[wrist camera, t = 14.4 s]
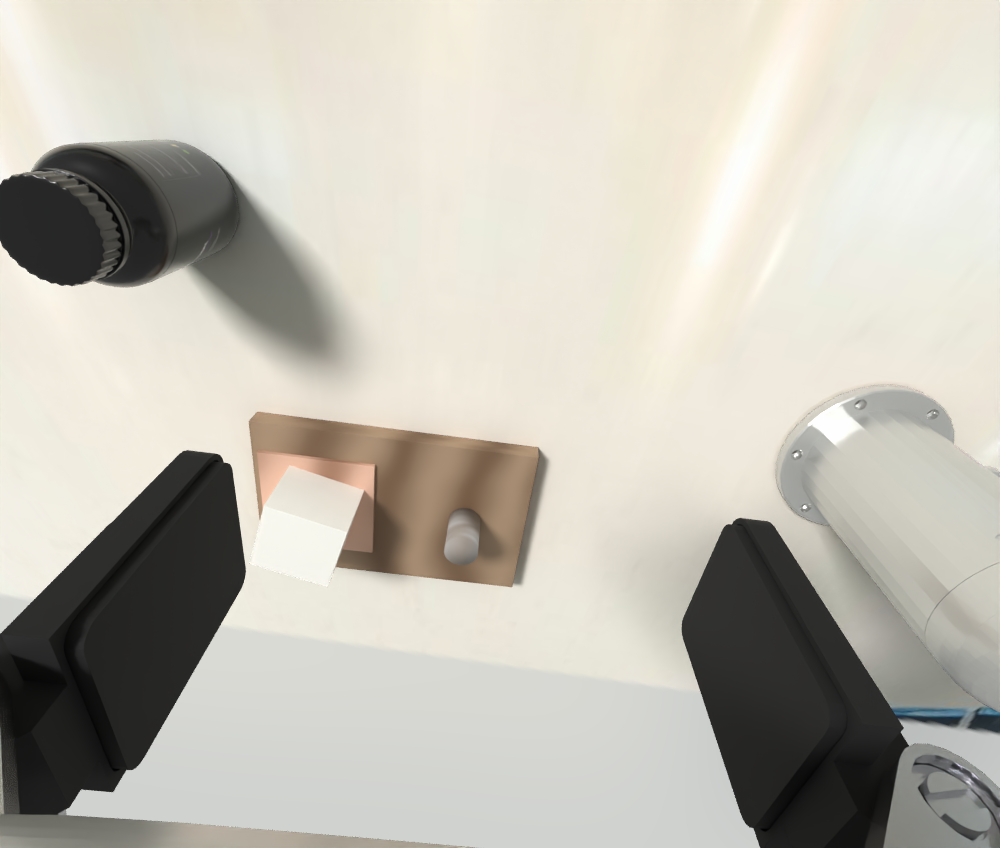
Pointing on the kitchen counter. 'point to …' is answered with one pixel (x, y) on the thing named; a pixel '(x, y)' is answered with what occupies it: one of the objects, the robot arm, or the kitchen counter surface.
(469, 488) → the post board
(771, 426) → the kitchen counter surface
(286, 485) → the matte white cube
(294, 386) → the kitchen counter surface
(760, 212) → the kitchen counter surface
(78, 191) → the supplement bottle
